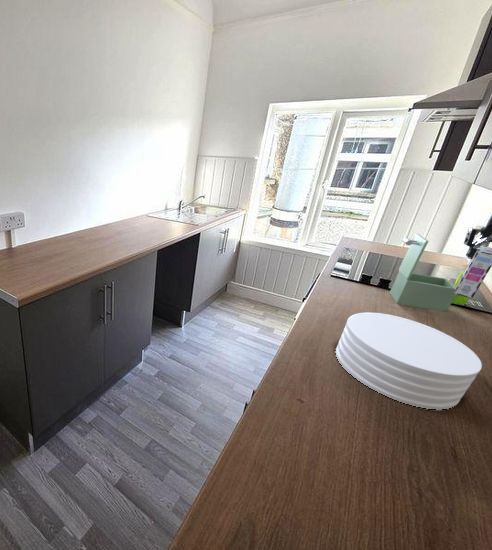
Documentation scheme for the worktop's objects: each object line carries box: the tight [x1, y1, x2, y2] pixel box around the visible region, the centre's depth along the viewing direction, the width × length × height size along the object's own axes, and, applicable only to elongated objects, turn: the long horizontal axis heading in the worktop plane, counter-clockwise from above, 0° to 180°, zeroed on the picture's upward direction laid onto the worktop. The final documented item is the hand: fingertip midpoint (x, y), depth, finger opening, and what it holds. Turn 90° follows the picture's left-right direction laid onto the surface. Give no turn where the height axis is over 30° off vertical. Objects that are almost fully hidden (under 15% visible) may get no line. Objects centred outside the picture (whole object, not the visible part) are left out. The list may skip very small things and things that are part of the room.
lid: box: [398, 233, 430, 280], centre depth 122 cm, size 16×12×5 cm
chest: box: [389, 270, 456, 313], centre depth 124 cm, size 16×12×11 cm
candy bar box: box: [454, 245, 492, 299], centre depth 104 cm, size 11×5×16 cm, turn 130°
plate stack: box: [334, 311, 483, 411], centre depth 84 cm, size 28×28×12 cm
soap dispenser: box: [451, 271, 470, 305], centre depth 123 cm, size 6×7×20 cm
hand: (482, 260), depth 102 cm, fingers closed on candy bar box, 6 cm apart
